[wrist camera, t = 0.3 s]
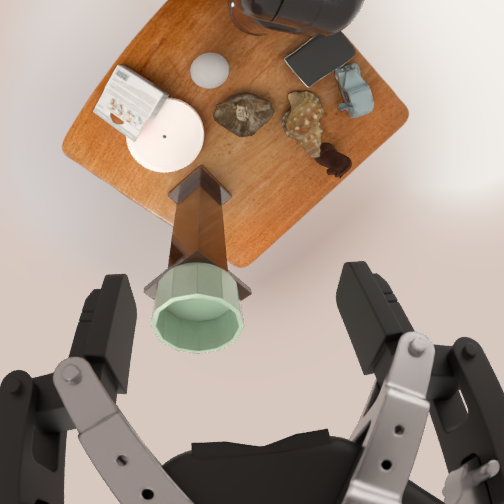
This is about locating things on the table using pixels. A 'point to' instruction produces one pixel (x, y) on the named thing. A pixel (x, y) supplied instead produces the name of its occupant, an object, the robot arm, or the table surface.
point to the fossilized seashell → (243, 114)
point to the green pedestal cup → (198, 273)
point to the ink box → (129, 101)
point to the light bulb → (209, 70)
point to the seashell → (304, 121)
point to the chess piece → (333, 160)
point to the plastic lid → (169, 138)
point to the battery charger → (320, 57)
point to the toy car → (354, 91)
